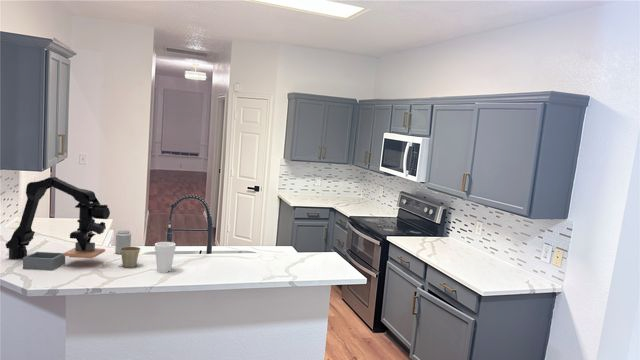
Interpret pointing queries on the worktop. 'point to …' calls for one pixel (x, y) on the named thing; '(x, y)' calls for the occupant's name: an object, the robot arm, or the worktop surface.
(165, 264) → the foam cup
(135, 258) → the flower pot
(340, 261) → the worktop surface
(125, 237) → the can
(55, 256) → the storage box
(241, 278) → the worktop surface
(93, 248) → the lid
